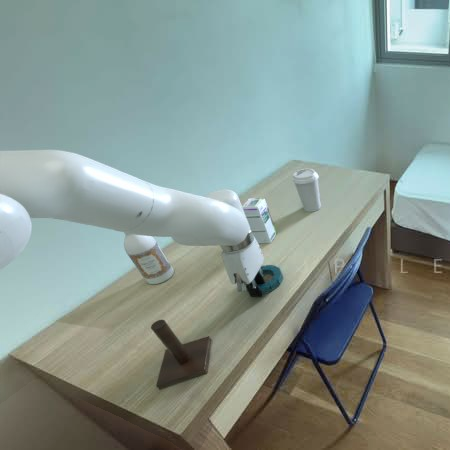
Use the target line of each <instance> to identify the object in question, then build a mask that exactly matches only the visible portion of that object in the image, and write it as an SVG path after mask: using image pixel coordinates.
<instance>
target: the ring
mask: <svg viewBox="0 0 450 450" xmlns="http://www.w3.org/2000/svg"><path fill="white" fill-rule="evenodd" d="M262 271H263V276H266V275H271V276H272V278H271V279H270V280H268V281H267V282H266V283H265V284H262V285H259V288H260V290H261V292H262V295H266V294H269V293H271V292H273V291H275V290H276V289H277V288H278V287H279V286H280V285H281V284H282V282H283V280H284V276H283V273H282V270H281V268H280V267H278V266H276V265H275V264H266V265H262ZM249 284H251V283H249ZM245 291H246V292H247V293H249V292H248V290H245Z"/></svg>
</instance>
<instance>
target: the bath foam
mask: <svg viewBox="0 0 450 450" xmlns="http://www.w3.org/2000/svg"><path fill="white" fill-rule="evenodd" d="M123 233H124V240H123V249H124V251H125V254H126V255H127V256H128V258H129V259H130V260H131V261H132V264H133V265H134V266H135V267H136V269H137V271H139V273H140V275H141V276H142V278H144V280H145V282H147V284H149V285H158V284H162V283H164V282H166V281H168V280H169V279H170V278H172V276H173V275H174V271H175V270H174V268H173V267H172V265H171V263H170V261H169V259H168V258H167V256H166V255H165V253H164V252H163V250H162V248H161V247H160V245H159V244H158V242H157V240H156V239H155V238H154V236H144V235H135V234H129V233H125V232H123Z"/></svg>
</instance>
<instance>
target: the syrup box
mask: <svg viewBox="0 0 450 450" xmlns="http://www.w3.org/2000/svg"><path fill="white" fill-rule="evenodd" d="M242 208H243V210H244V213H245V215H246V218H247V221H248V223H249V226H250V228H251V231H252V234H253V236H254V237H255V239H256V241H257V242H258V244H272V242H273V240H274V239H275V237H276V235H277V233H278V231H277V229H276V226H275V223H274V221H273V218H272V214H271V213H270V210H269V206H268V204H267V201H266V198H264V197H252V198H247V200H246V201H245V202H244V203H243V205H242Z"/></svg>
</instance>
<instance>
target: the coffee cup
mask: <svg viewBox="0 0 450 450" xmlns="http://www.w3.org/2000/svg"><path fill="white" fill-rule="evenodd" d="M319 178H320V177H319V174H318V172H316V170H315V169H314V168H301V169H298V170H296V171H294V172H293V174H292V178H291V181H292V182H293V184H294V186H295V188H296V191H297V194H298V196H299V199H300V202H301V205H302V207H303V210H304V211H305V212H307V213H312V212H313V213H314V212H317V211H320V209H321V207H322V206H321V195H320V190H319V189H320V188H319V180H318V179H319Z"/></svg>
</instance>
